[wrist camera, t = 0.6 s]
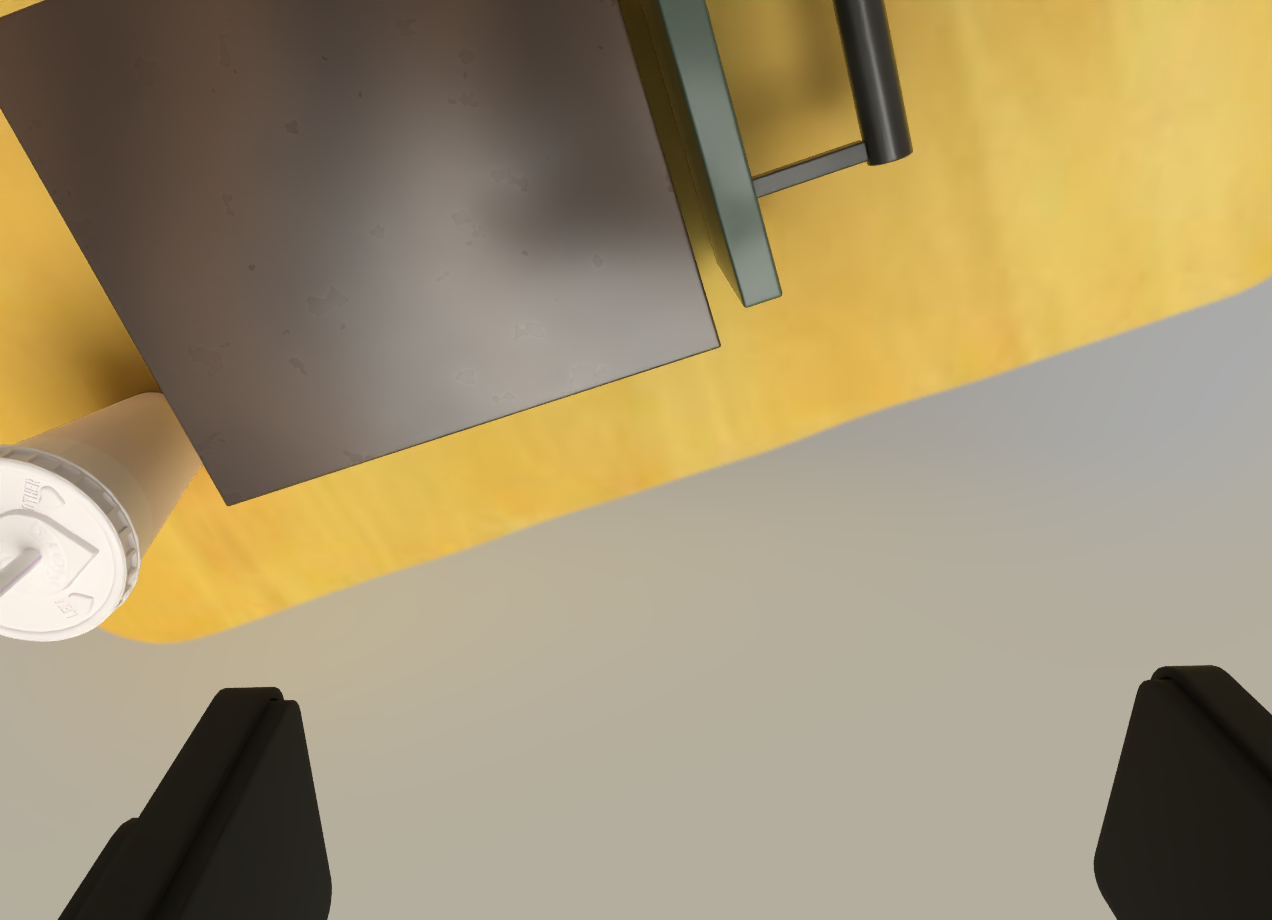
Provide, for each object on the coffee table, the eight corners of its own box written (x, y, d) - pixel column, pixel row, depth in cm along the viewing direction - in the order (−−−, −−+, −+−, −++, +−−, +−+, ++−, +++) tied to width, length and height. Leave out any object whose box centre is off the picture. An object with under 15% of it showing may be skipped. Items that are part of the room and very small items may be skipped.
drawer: (806, -196, 28) (867, -276, 21) (890, 206, 32) (960, 238, 26) (217, 27, 29) (111, 14, 23) (379, 376, 34) (328, 445, 28)
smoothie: (256, 506, 37) (74, 734, 24) (99, 510, 37) (-168, 742, 24) (226, 356, 35) (5, 522, 22) (57, 360, 35) (-266, 530, 22)
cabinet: (570, -124, 29) (558, -201, 21) (693, 283, 34) (721, 347, 26) (128, 44, 30) (-44, 33, 22) (312, 409, 36) (226, 507, 28)
